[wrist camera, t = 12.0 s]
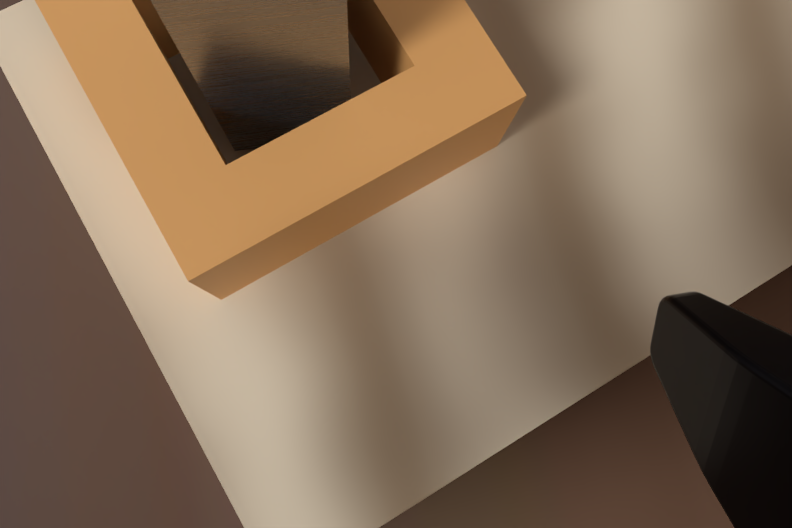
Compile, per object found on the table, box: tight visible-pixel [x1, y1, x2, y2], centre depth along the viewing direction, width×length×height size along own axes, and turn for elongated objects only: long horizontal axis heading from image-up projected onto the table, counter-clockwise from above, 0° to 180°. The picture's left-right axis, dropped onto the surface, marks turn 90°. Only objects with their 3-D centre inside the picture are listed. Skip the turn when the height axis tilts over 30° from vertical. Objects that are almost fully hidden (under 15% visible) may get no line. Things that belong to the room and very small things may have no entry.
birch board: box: [0, 0, 792, 528], centre depth 17 cm, size 22×16×1 cm
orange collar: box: [35, 0, 527, 300], centre depth 15 cm, size 8×8×3 cm
